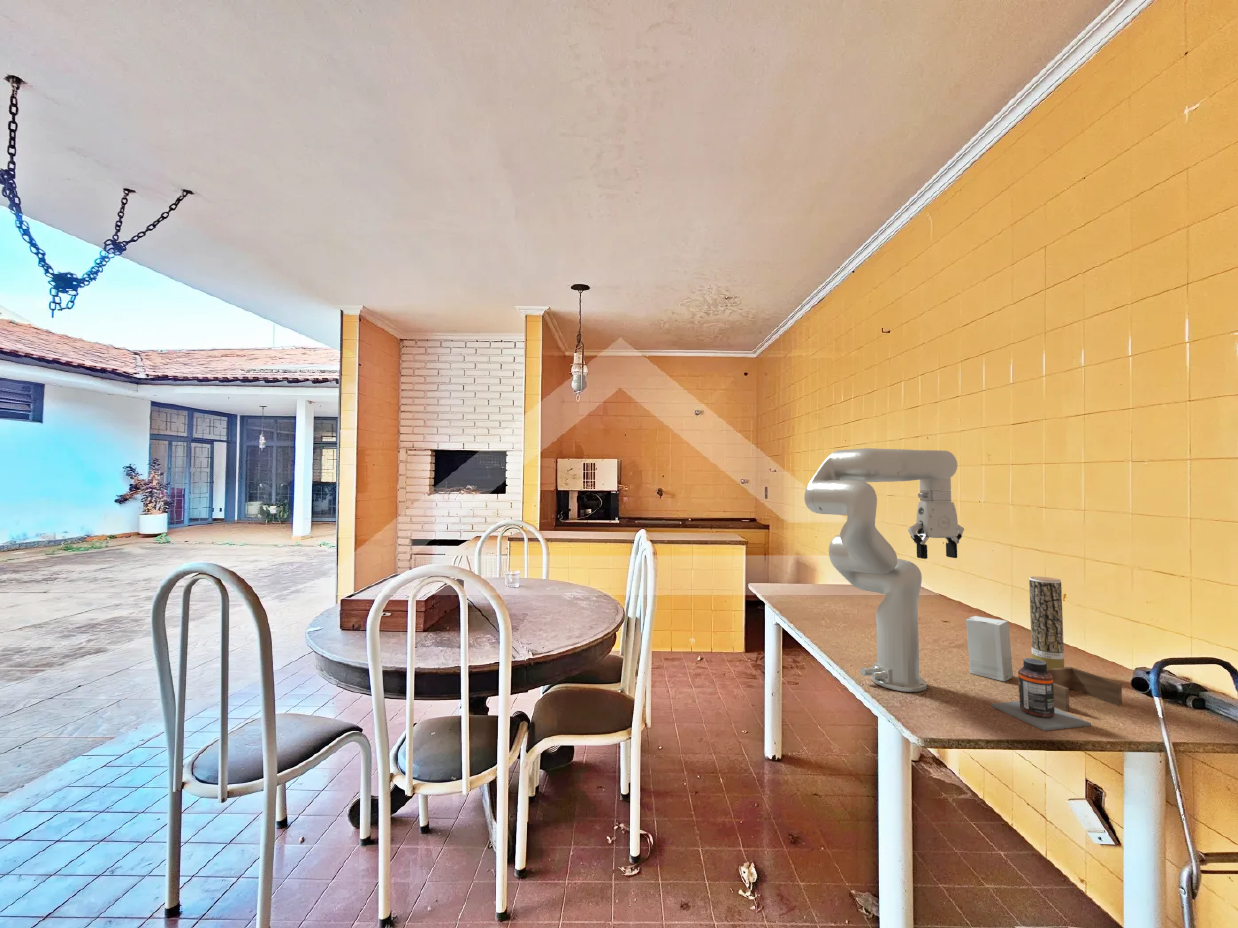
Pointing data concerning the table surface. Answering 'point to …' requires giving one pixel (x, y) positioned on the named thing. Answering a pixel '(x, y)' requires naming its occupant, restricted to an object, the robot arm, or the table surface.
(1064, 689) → the wooden open-sided frame
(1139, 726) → the table surface
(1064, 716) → the grey mat
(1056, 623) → the paper tube
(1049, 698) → the supplement bottle
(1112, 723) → the table surface
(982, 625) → the skincare box
